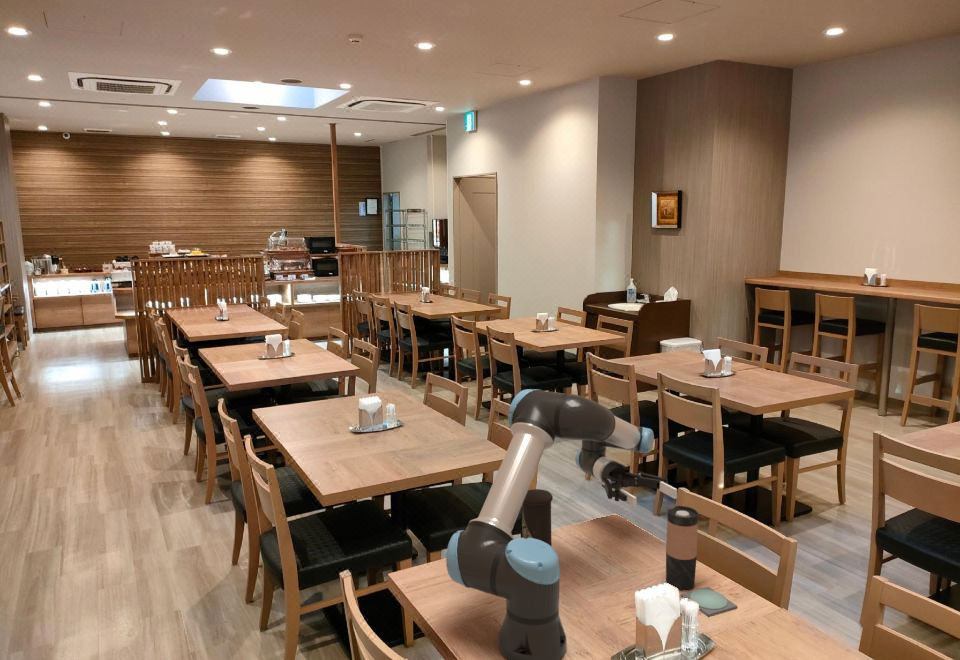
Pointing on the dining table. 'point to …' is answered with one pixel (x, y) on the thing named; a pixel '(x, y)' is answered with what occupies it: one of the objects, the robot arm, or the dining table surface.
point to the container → (537, 515)
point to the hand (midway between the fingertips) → (656, 498)
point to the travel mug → (681, 547)
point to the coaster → (710, 601)
